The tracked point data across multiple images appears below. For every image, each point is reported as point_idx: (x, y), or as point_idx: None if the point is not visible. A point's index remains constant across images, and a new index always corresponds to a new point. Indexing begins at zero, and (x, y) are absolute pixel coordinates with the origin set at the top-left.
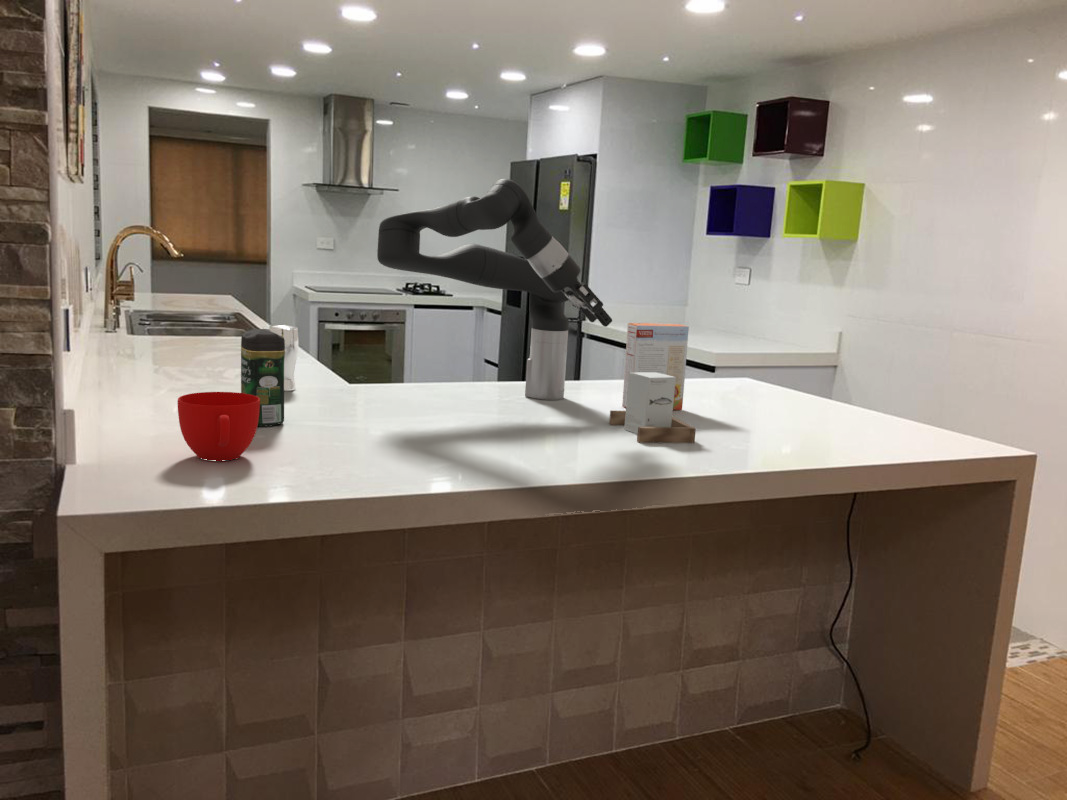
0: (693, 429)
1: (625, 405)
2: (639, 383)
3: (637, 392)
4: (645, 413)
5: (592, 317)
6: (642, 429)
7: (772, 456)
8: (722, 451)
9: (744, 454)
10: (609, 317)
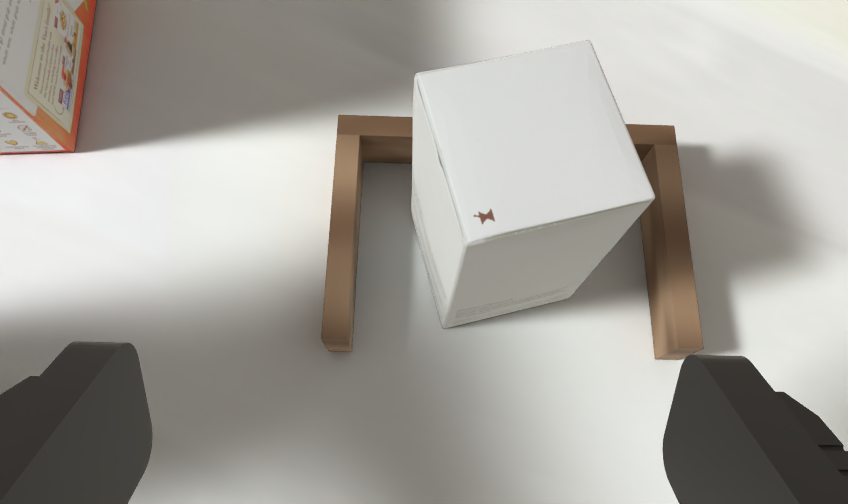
0: (673, 135)
1: (7, 150)
2: (565, 238)
3: (545, 259)
4: (591, 269)
5: (121, 449)
6: (699, 339)
7: (809, 2)
8: (769, 117)
9: (799, 69)
10: (763, 396)
